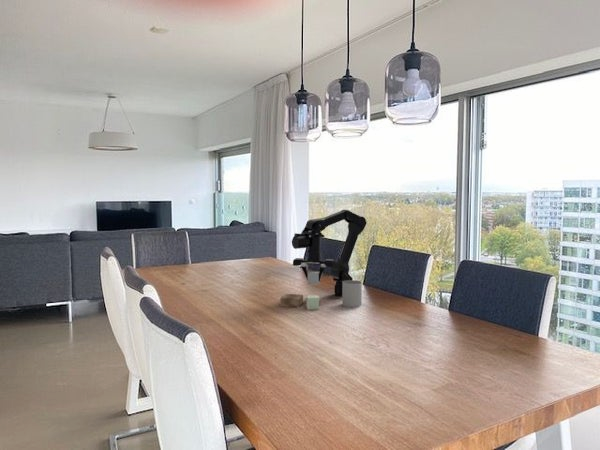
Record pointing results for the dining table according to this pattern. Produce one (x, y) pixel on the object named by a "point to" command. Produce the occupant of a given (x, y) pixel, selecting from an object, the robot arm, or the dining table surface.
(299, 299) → the walnut base
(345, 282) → the cup
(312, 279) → the grey cube
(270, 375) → the dining table surface
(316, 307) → the sage cube
